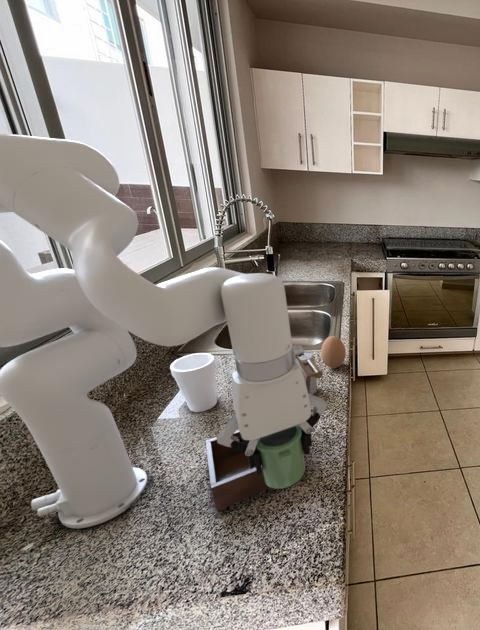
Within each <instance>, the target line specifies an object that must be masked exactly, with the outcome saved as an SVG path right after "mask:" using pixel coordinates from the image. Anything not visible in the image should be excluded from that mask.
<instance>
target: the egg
mask: <svg viewBox="0 0 480 630" xmlns="http://www.w3.org/2000/svg"><path fill="white" fill-rule="evenodd" d="M346 353H347V352H346V347H345V344H344V342H343V341H342V340H341V339H340V337H338V336H336V335H330V336H328V337H327V338H325V339H324V341H323V343H322V345H321V349H320V356H321V361H322V362H323V363H324V364H325V366H326V367H328V368H331V369H337V368H339V367H341V366H342V365H343V364H344V362H345V361H346V360H345V359H346V355H347V354H346Z"/></svg>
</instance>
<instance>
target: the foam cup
mask: <svg viewBox="0 0 480 630" xmlns="http://www.w3.org/2000/svg"><path fill="white" fill-rule="evenodd" d="M216 366H217V365H216V360H215V356H214V355H213V354H211V353H206V352H197V353H192V354H191V353H190V354H187V355H184V356H182V357H179V358H177V359H175V360H174V361H173V362H172V363H170V366H169V370H170V374H171V376H172V378H173V379H174V380H175V382H176V384H177V387H178V388H179V390H180V393H181V395H182V397H183V400H184V401H185V403H186V405H187V407H188V409H189V410H190V411H191V412H192V413H193V412H194V413H201V412H205V411H208V410H210V409H212V408H214V407H215V406H216V405H217V403H218V395H217V393H218V392H217V377H216Z"/></svg>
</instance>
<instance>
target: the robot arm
mask: <svg viewBox="0 0 480 630" xmlns="http://www.w3.org/2000/svg"><path fill="white" fill-rule="evenodd" d="M119 189H120V179H119V174H118V172H117V169H116V168H115V167H114V165H113V163H112V162H111V161H110V160H109V159H108V158H107V157H106V156H105V155H104V154H103V153H102V152H101V151H99V150H98V149H96V148H94V147H93V146H90V145H88V144H86V143H83V142H80V141H77V140H72V139H65V138H52V137H41V136H31V135H23V134H8V133H2V134H1V133H0V213H1V214H2V213H4V214H5V213H13V214H14V215H16V216H18V217H19V218H21V219H22V220H24V221H26V222H27V223H29V224H30V225H32V226H33V227H35V228H36V229H37V230H39V231H40V232H42V233H43V234H45V235H46V236H48V237H49V238H51V239H52V240H54V241H55V242H56V243H58V244H59V245H61V246H63V247H64V248H66V249H67V250H68V251H70V252H71V253H72V267H73V269H71V268H53V269H48V270H43V271H38V272H34V273H30V272H29V271H28V270H26V269H25V267H24V266H23V265H22V264H21V262H20V260H19V259H18V257H17V256H16V254H15V253H14V251H13V250H12V249H11V248H10V246H8V245H7V244H6V243H5V242H4V241H2V240H1V239H0V348H9V347H14V346H19V345H23V344H25V343H28V342H32V341H34V340H37V339H39V338H42V337H45V336H47V335H51V334H53V333H56V332H58V331H61V330H64V329H66V328H69V329H70V330H71V331H72V332H73V333H72V334H70V335H67V336H65V337H62V338H60V339H57V340H54V341H52V342H51V341H50V342H49V343H47V344H44V345H42V346H39V347H37V348H34V349H32V350H29V351H26V352H24V353H22V354H20V355H18V356H17V357H15V358H13V359H10V360H9V361H8V362H7V363H6V364H4V365H3V366H2V367H1V368H0V396H1V397H2V399H3V400H4V401H5V403H7V404H8V405H9V406H10V408H12V409H13V410H14V411H15V413H16V414H17V415H18V416H19V418H20V419H21V420H22V421H23V423H24V424H25V426H26V427H27V430H29V432H30V434H31V436H32V438H33V440H34V442H35V444H36V446H37V448H38V449H39V451H40V453H41V455H42V458H43V459H44V461H45V463H46V465H47V467H48V469H49V471H50V472H51V475H52V477H53V478H54V481H55V483H56V484H57V487H58V489H57V490H56V491H55V492H53V493H50V494H46V495H43V496H39V497H37V498H34V499H32V500H31V502H30V505H31V506H30V507H31V510H32V511H36V515H37V516H38V517H39V518H41V517H44V516H46V515H48V514H51V513H53V512H58V515H57V516H58V519H59V521H60V523H61V524H62V525H63V526H64V527H66V528H70V529H84V528H91V527H94V526H97V525H100V524H102V523H105V522H107V521H110V520H112V519H114V518H115V517H118V516H119V515H120V514H122V513H124V512H125V511H127V510H128V509H129V508H130V507H131V504H132V503H133V502H134V501H136V499H137V498H139V497H140V496H141V495H142V493H143V491H144V490H145V488H146V486H147V485H148V475H147V473H146V471H145V470H144V469H142V468H140V467H135V466H133V465H132V462H131V459H130V457H129V454H128V452H127V449H126V447H125V444H124V442H123V439H122V436H121V434H120V431H119V428H118V425H117V423H116V419H115V418H114V416H113V414H112V411H111V409H110V408H109V407H108V406H107V405H106V404H105V403H103V402H101V401H98V400H94V399H91V398H89V396H88V394H89V393H90V392H91V391H93V390H94V389H96V388H98V387H99V386H101V385H102V384H104V383H106V382H108V381H110V380H111V379H113V378H115V377H116V376H118V375H120V374H121V373H124V372H125V371H126V370H128V369H129V368H131V367H132V366H133V365H134V363H135V362H136V360H137V355H138V353H137V352H138V351H137V347H136V344H135V342H134V339H133V338H132V335H131V334H133V335H134V336H136V337H138V338H139V339H141V340H144V341H146V342H148V343H151V344H153V345H157V346H161V347H176V346H181V345H184V344H186V343H188V342H190V341H192V340H194V339H195V338H197V337H199V336H201V335H202V334H204V333H206V332H207V331H209V330H211V329H212V328H214V327H215V326H218V325H221V324H224V323H226V324H227V325H226V326H227V329H228V334H229V338H230V339H229V340H230V343H231V349H232V353H233V357H234V363H235V367H236V370H234V371H233V373H232V374H231V395H232V402H233V403H232V405H233V410H234V415H233V416H232V417H231V418H230V419H229V420H228V422H227V423H226V424H225V425H224V426H223V427H222V429H221V430H220V431H219V432H218V433H217V434H216V437H217V442H218V443H219V444H221V445H224V446H227V447H231V448H232V449H233V450H236V451H240V452H243V453H245V455H246V456H248V460H249V464H250V468H254V467H256V471H257V475H258V474H261V472H262V468H261V463H260V458H259V453H258V450H257V448H256V445H257V443H258V440H259V438H261V437H264V436H267V435H270V434H273V433H276V432H279V431H281V430H284V429H287V428H290V427H293V426H295V425H299V426H300V427H301V428H302V435H301V441H302V448H303V454H304V455H305V456H308V455H310V454H311V450H310V446H312V445H313V441H312V440H313V439H312V432H313V431H314V427H315V426H316V424H317V423H318V422H319V420H320V419H321V416H322V415H323V414H324V412H325V411H326V409H327V408H328V406H329V405H328V403H327V401H326V400H325V399H324V398H321V397H319V396H317V395H314V394H312V395H311V394H309V393H308V391H307V387H306V382H305V379H304V375H303V372H302V369H301V367H300V364H299V362H298V360H297V359H296V358H297V356H299V355H301V354H304V351H305V350H304V347H303V345H302V344H301V345H294V344H293V340H292V333H291V323H290V317H289V311H288V309H289V308H288V302H287V296H286V288H285V284H284V282H283V281H282V279H281V278H280V277H279V276H277V275H275V274H271V273H263V272H257V273H256V272H254V273H243V272H239V271H235V270H232V269H228V268H225V267H224V268H223V267H217V266H215V267H212V266H211V267H204V268H202V269H199V270H196V271H192V272H189V273H186V274H182V275H180V276H177V277H175V278H174V277H173V278H171V279H168V280H165V281H162V282H160V283H157V284H155V283H153V282H151V281H150V280H148V279H146V277H143V276H142V275H140V274H139V273H137V272H136V271H134V270H133V269H132V268H131V267H129V266H128V265H126V264H125V263H124V262H123V261H122V260H121V259H120V257H118V256H119V255H120V254H121V253H122V252H123V251H124V250H125V249H127V248H128V246H130V244H131V243H132V242H133V240H134V238H135V237H136V235H137V232H138V230H139V229H138V228H139V219H138V216H137V214H136V213H135V211H134V210H133V209H132V208H131V207H130V206H129V205H127V204H126V203H124V202H123V201H122V200H120V199H118V198H117V197H116V195H117V194H118V192H119ZM130 333H131V334H130ZM311 406H312V407H313V409H312V407H311ZM236 430H239V431H240V434H241V437H242V438H241V437H238V436H233V434H234V433H235V431H236Z"/></svg>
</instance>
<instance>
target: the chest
mask: <svg viewBox="0 0 480 630" xmlns="http://www.w3.org/2000/svg"><path fill="white" fill-rule="evenodd" d="M233 436H238V437H241V434H240V431H239V429H237V430H236V431H235V433H234V434H233ZM241 438H242V437H241ZM205 450H206V451H205V452H206V458H207V466H208V475H209V484H210V490H211V494H212V497H213V503H214V506H215V509H216V511H217V512H218V511H220V510H223V509H225V508H227V507H228V508H229V507H230V506H233V505H234V504H237V503H239V502H242V501H244V500H246V499H249V498H252V497H254V496H256V495H258V494H260V493H263V492H266V491H267V490H270V489H272V488H271V487H269V486H267V485H266V484H265V482H264V478H263V473H262V472H261V474H258V475H257V471H256V467H254V468H250V464H249V460H248V456H246V455H245V453H243V452H240V451H236V450H233V449H232V448H231V447H227V446H224V445H221V444H219V443H218V442H217V436H215V437H212V438H209V439H206V440H205ZM257 450H258V449H257ZM305 474H306V471H305V472H304V474H303V475H305Z"/></svg>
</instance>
